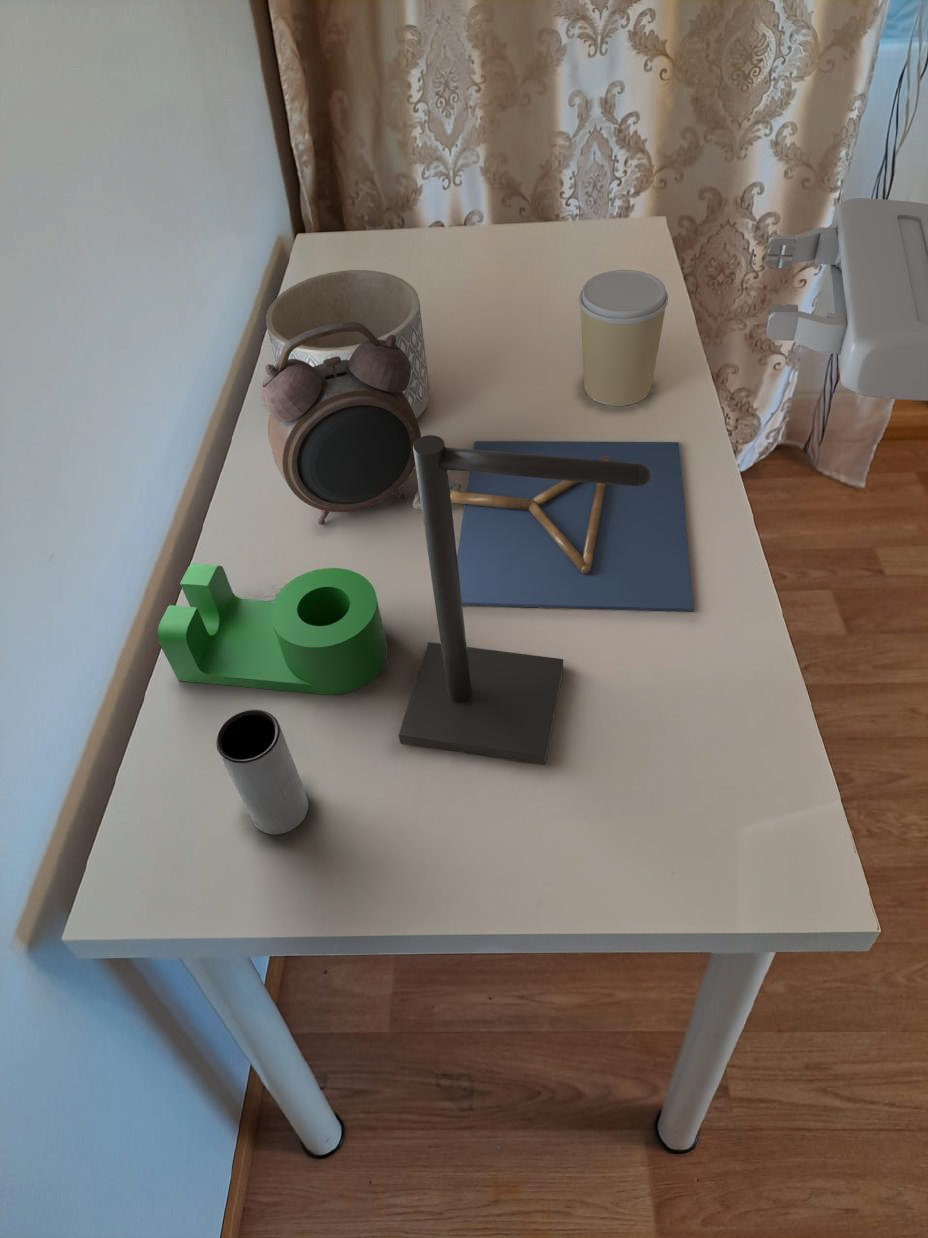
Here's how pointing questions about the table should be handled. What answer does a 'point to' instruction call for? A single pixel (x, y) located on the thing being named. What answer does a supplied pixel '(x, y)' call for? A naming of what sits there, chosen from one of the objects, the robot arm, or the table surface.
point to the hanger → (540, 514)
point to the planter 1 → (263, 770)
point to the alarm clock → (342, 422)
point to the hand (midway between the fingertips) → (767, 285)
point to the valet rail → (452, 672)
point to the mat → (579, 535)
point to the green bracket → (276, 633)
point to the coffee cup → (621, 334)
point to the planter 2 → (353, 299)
